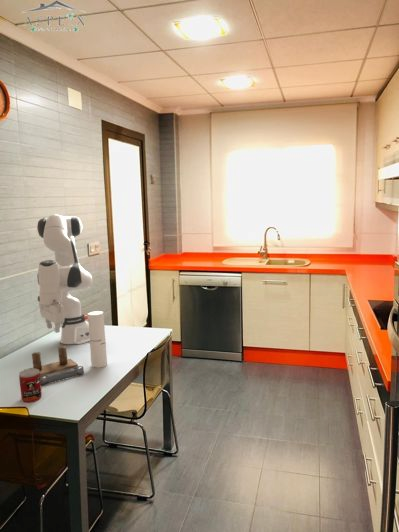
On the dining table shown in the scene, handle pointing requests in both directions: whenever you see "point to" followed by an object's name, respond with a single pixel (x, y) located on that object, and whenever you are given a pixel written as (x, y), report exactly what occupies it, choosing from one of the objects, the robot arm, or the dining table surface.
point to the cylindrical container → (97, 339)
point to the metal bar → (61, 375)
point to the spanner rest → (53, 367)
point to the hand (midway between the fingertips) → (53, 330)
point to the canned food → (30, 385)
